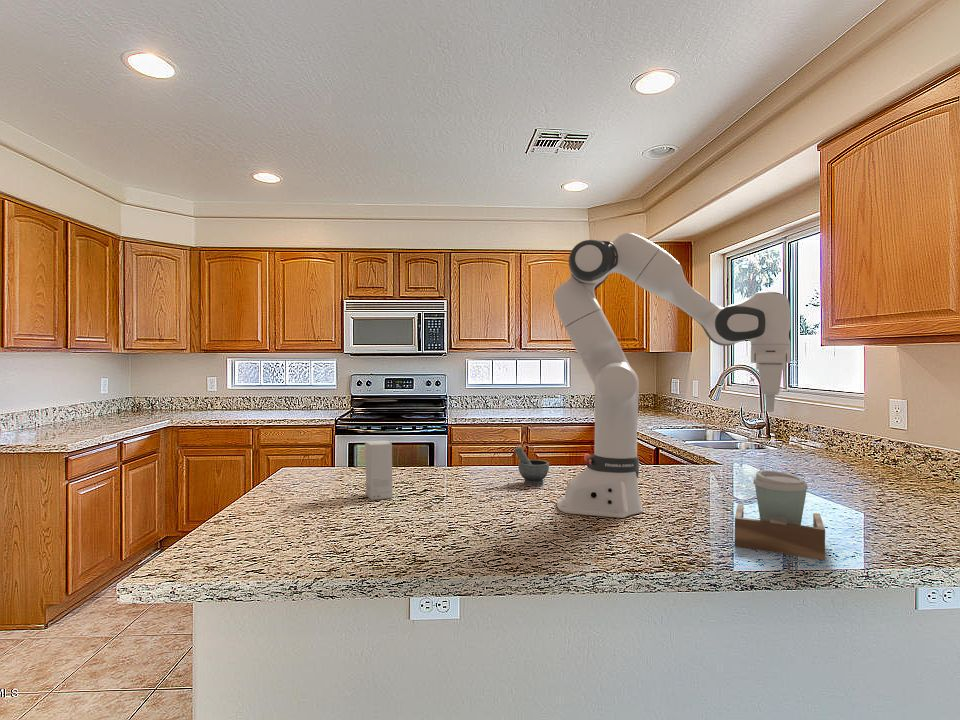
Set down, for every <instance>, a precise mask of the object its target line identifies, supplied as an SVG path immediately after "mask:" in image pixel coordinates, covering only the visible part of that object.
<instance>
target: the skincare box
mask: <svg viewBox="0 0 960 720" xmlns="http://www.w3.org/2000/svg"><path fill="white" fill-rule="evenodd" d="M364 447H365V448H364V449H365V455H364V457H365V494H366V496H367V497H368V498H369V499H370V500H371V501H377V500H378V501H379V500H387V499H393V496H394V495H393V494H394V493H393V492H394V491H393V444H392V442H390V441H387V440H375V441H373V440H372V441H365V442H364Z"/></svg>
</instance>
